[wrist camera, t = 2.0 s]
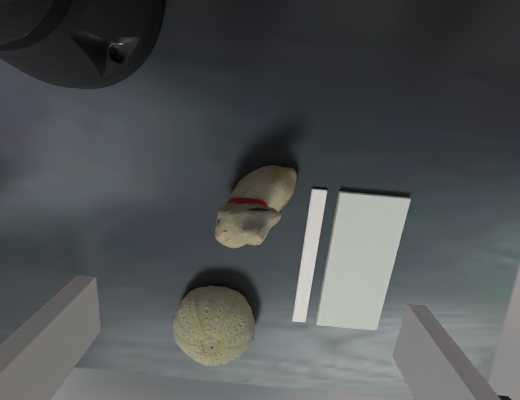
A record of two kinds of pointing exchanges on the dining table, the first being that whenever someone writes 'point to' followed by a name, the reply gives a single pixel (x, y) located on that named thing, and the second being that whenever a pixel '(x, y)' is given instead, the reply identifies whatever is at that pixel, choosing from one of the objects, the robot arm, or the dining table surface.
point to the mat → (360, 259)
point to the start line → (309, 253)
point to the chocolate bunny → (254, 206)
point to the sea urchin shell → (214, 325)
